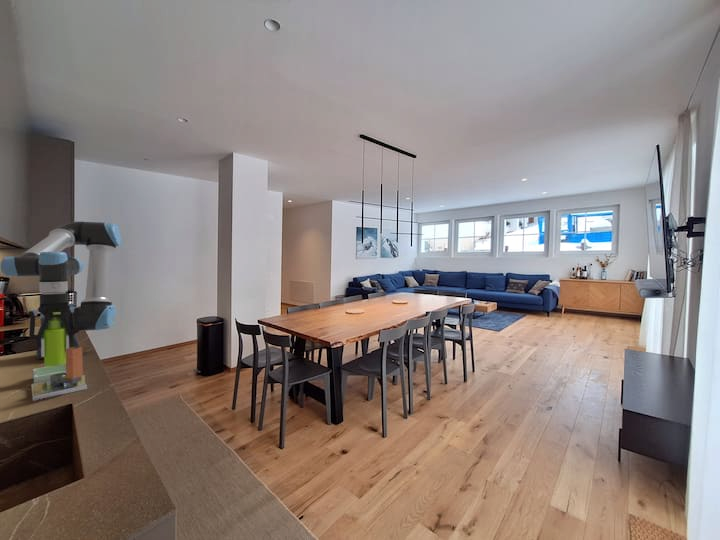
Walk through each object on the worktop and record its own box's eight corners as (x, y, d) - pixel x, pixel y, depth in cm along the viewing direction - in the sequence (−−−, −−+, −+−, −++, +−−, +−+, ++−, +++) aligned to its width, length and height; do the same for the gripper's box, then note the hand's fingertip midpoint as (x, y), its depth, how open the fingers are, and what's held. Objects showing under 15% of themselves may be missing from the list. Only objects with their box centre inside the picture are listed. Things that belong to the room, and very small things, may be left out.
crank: (46, 385, 106) (45, 347, 105) (61, 380, 110) (60, 344, 110) (71, 388, 104) (70, 350, 103) (85, 383, 108) (84, 346, 107)
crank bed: (31, 388, 107) (31, 377, 107) (81, 377, 117) (81, 367, 117) (32, 401, 98) (32, 388, 98) (87, 388, 108) (86, 377, 107)
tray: (33, 378, 116) (33, 369, 116) (75, 370, 125) (74, 361, 125) (34, 387, 108) (34, 377, 108) (78, 377, 117) (78, 368, 117)
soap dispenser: (47, 368, 112) (46, 313, 111) (42, 364, 116) (41, 311, 115) (68, 363, 117) (68, 311, 116) (63, 360, 121) (62, 309, 120)
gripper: (16, 295, 106) (18, 362, 107) (88, 291, 120) (90, 350, 121) (16, 294, 111) (18, 357, 112) (86, 290, 125) (87, 347, 126)
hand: (55, 354), depth 116 cm, fingers closed on soap dispenser, 6 cm apart
